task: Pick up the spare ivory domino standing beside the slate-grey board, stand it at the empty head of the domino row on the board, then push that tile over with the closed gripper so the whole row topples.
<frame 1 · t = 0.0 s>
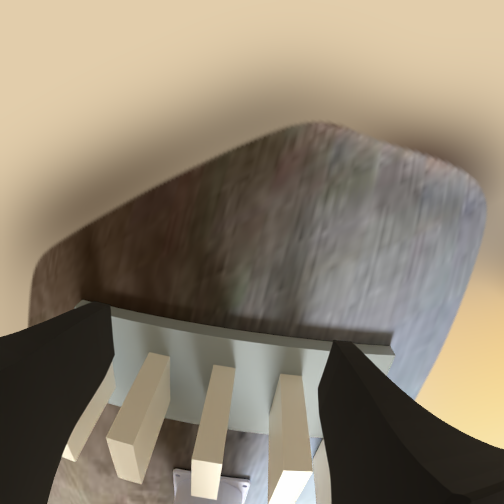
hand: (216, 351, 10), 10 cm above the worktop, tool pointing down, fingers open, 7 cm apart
domino 4: (160, 377, 21), point 1 cm above the worktop, touching board
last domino: (104, 363, 21), point 1 cm above the worktop, touching board
head domino: (326, 447, 25), on the worktop
board: (227, 379, 23), on the worktop
domino 2: (284, 397, 21), point 1 cm above the worktop, touching board
domino 3: (221, 389, 21), point 1 cm above the worktop, touching board
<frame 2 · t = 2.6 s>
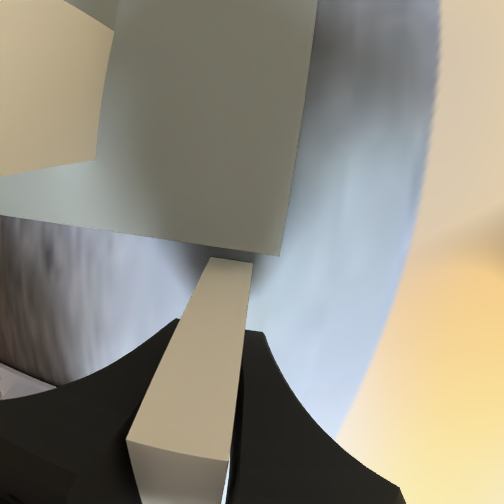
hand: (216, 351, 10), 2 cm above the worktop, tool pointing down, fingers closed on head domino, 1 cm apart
head domino: (225, 314, 12), on the worktop, touching gripper
board: (20, 104, 10), on the worktop
domino 2: (83, 94, 9), point 1 cm above the worktop, touching board
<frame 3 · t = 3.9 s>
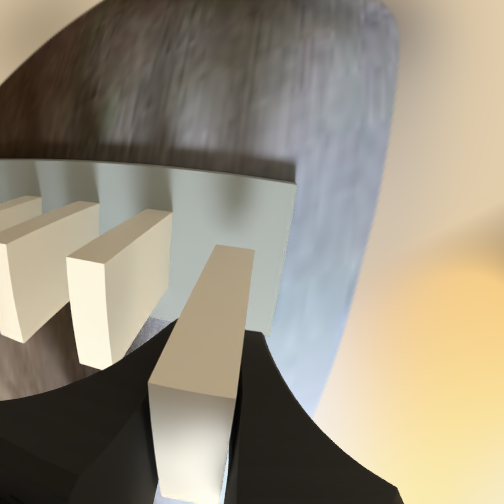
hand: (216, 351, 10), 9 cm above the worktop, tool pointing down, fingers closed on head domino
domino 4: (34, 229, 18), point 1 cm above the worktop, touching board
head domino: (229, 298, 13), point 6 cm above the worktop, touching gripper
board: (101, 233, 19), on the worktop
domino 2: (157, 248, 18), point 1 cm above the worktop, touching board
domino 3: (88, 238, 18), point 1 cm above the worktop, touching board
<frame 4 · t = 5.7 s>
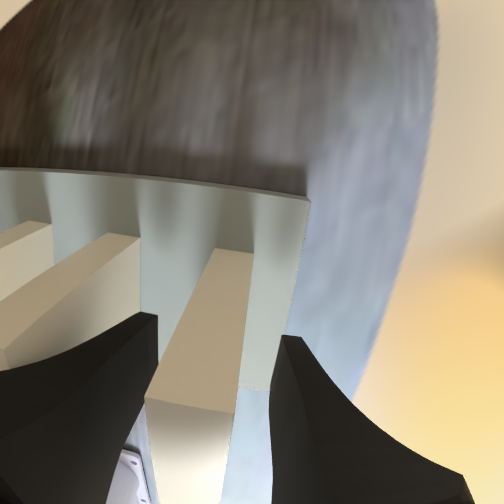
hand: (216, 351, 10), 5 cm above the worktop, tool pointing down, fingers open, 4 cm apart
head domino: (228, 302, 13), point 1 cm above the worktop, touching board
board: (60, 259, 14), on the worktop
domino 2: (124, 284, 13), point 1 cm above the worktop, touching board, gripper
domino 3: (43, 267, 13), point 1 cm above the worktop, touching board
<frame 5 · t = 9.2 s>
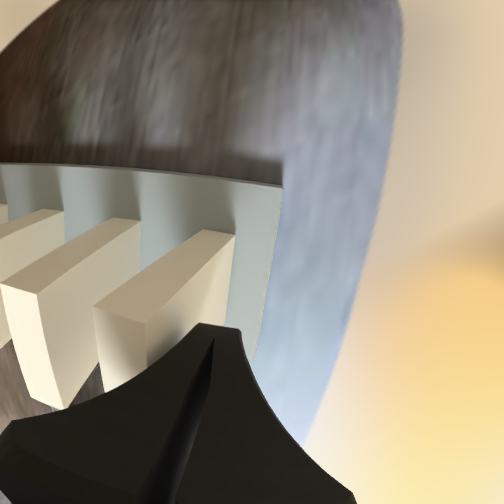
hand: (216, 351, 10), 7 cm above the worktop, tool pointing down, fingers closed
domino 4: (2, 239, 15), point 1 cm above the worktop, touching board
head domino: (214, 277, 15), point 1 cm above the worktop, tilted 9°, touching board
board: (69, 243, 16), on the worktop
domino 2: (126, 262, 15), point 1 cm above the worktop, touching board
domino 3: (54, 249, 15), point 1 cm above the worktop, touching board
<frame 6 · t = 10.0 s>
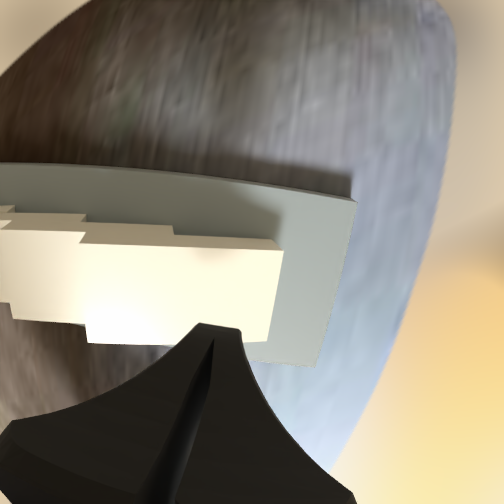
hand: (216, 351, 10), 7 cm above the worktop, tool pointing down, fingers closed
head domino: (269, 291, 14), point 2 cm above the worktop, tilted 71°, touching board, domino 2
board: (119, 252, 16), on the worktop
domino 2: (170, 276, 14), point 2 cm above the worktop, tilted 71°, touching board, domino 3, head domino
domino 3: (84, 261, 14), point 2 cm above the worktop, tilted 70°, touching board, domino 2, domino 4
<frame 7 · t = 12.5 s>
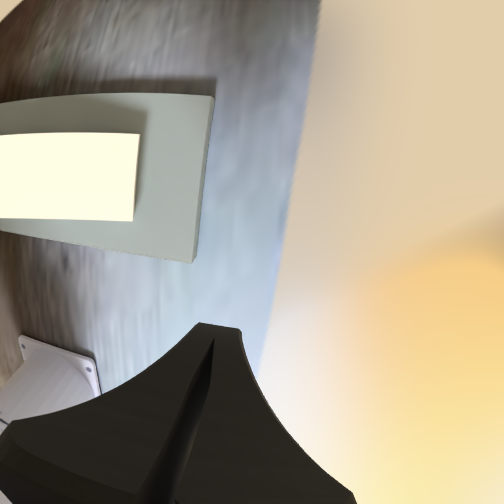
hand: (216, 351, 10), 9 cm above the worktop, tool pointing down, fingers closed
head domino: (135, 176, 16), point 2 cm above the worktop, tilted 71°, touching board, domino 2
board: (42, 166, 17), on the worktop
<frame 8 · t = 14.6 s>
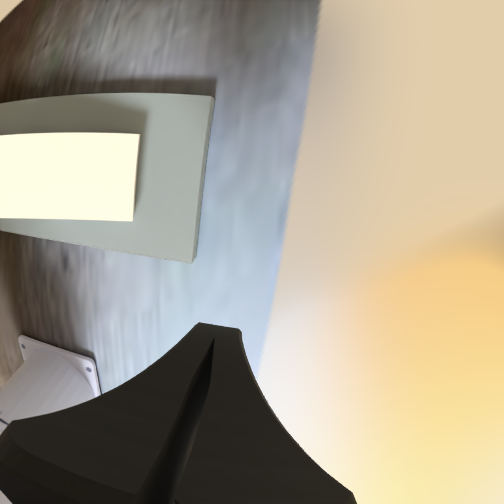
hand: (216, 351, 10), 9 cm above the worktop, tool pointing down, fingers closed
head domino: (135, 176, 16), point 2 cm above the worktop, tilted 71°, touching board, domino 2
board: (42, 166, 17), on the worktop
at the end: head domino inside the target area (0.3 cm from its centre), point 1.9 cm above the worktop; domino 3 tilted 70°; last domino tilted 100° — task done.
